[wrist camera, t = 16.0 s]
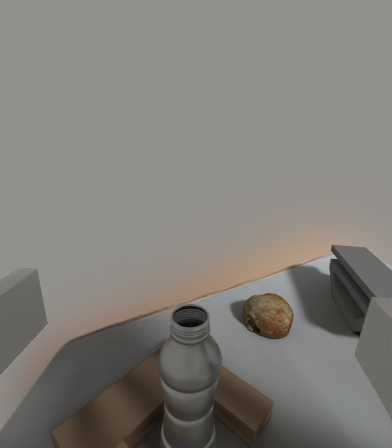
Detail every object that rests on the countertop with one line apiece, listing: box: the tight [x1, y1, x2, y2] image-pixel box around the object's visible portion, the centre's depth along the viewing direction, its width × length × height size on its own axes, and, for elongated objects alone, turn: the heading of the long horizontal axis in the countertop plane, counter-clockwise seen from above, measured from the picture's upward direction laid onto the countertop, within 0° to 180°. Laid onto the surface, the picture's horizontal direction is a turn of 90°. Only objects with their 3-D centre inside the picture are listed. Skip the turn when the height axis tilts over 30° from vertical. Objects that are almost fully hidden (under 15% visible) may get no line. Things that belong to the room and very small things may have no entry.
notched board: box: [52, 347, 274, 448], centre depth 33 cm, size 21×18×3 cm
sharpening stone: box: [329, 245, 392, 332], centre depth 55 cm, size 25×8×11 cm, turn 171°
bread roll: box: [243, 293, 293, 339], centre depth 53 cm, size 10×10×8 cm
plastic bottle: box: [158, 304, 222, 448], centre depth 28 cm, size 6×7×20 cm
